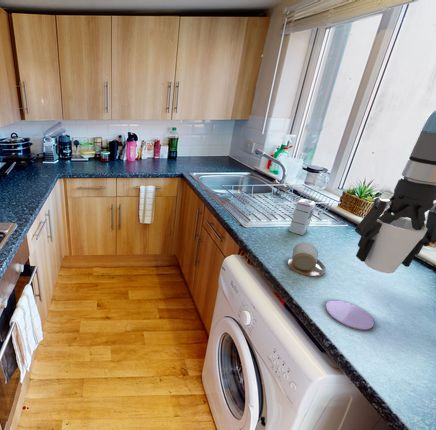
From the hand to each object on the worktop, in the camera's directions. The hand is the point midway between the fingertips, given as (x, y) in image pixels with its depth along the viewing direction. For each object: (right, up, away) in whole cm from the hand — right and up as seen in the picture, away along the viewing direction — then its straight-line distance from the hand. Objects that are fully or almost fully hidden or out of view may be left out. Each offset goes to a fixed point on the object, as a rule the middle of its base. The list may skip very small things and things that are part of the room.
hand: (381, 261), depth 75 cm
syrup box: (+11, +5, +53) cm, 54 cm away
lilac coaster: (-4, -16, +6) cm, 18 cm away
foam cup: (0, -2, +1) cm, 2 cm away
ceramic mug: (-2, -6, +27) cm, 28 cm away
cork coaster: (-2, -7, +27) cm, 28 cm away
